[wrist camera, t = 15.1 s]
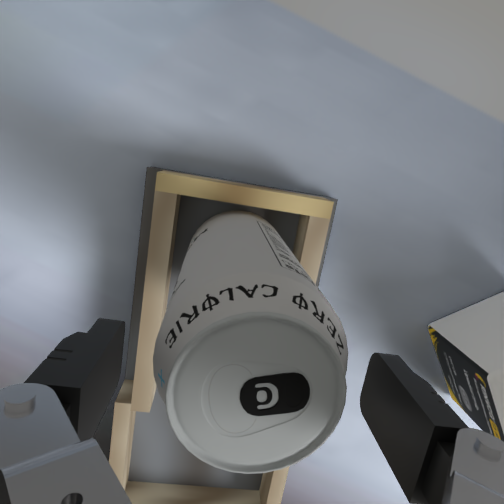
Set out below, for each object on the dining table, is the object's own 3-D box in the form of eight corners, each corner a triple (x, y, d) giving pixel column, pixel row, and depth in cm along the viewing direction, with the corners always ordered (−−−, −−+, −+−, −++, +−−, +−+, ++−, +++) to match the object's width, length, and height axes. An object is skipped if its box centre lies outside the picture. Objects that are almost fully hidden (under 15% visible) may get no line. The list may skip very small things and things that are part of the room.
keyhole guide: (332, 197, 25) (350, 204, 22) (267, 488, 31) (273, 532, 27) (150, 166, 24) (138, 168, 20) (117, 477, 29) (102, 522, 26)
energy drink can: (183, 212, 23) (122, 305, 9) (278, 203, 24) (368, 279, 9) (194, 302, 25) (159, 505, 11) (284, 292, 25) (369, 476, 11)
